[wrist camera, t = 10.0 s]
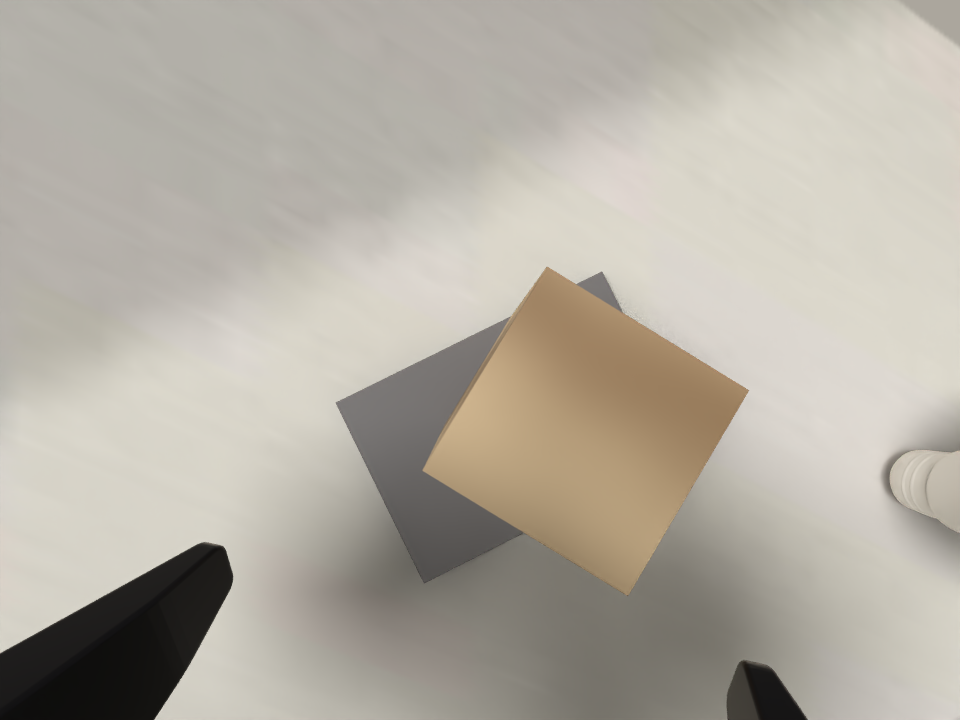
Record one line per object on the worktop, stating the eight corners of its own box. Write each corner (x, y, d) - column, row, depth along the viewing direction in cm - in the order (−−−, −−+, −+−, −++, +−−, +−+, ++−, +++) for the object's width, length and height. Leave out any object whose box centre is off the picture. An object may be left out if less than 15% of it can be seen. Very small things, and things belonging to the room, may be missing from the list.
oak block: (551, 489, 21) (627, 596, 11) (445, 424, 21) (422, 470, 11) (614, 382, 21) (748, 390, 11) (509, 318, 21) (547, 266, 11)
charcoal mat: (426, 573, 21) (424, 583, 20) (342, 401, 22) (335, 402, 21) (680, 444, 22) (690, 447, 21) (596, 276, 22) (601, 271, 21)
